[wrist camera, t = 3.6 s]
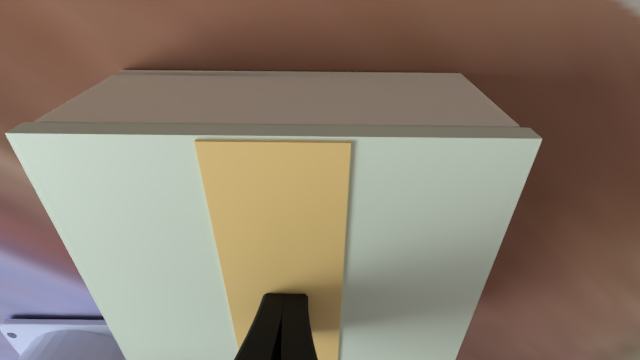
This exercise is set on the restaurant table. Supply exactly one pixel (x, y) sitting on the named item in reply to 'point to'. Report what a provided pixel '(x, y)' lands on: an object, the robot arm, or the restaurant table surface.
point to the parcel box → (283, 99)
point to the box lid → (280, 228)
